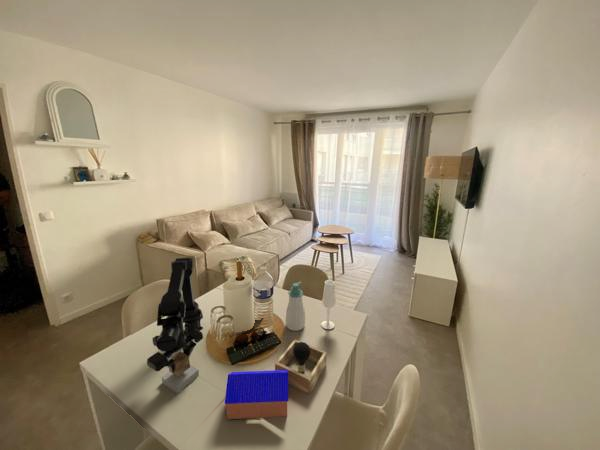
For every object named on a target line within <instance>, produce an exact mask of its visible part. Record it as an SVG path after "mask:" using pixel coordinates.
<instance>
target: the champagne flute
mask: <svg viewBox="0 0 600 450" xmlns="http://www.w3.org/2000/svg"><path fill="white" fill-rule="evenodd" d="M335 283H336V282H335V281H334V280H331V279H327V280H325V281H324V286H323V292H322V300H321V303H322V305H323V307H324V308H326V311H327V312H326V320H324V321H322V322H321V327H322V329H326V330H331V329H334V328H335V323H334V322H332V321H331V320H330V309H332V308H334V307H335V305H336V286H335Z"/></svg>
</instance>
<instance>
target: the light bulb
mask: <svg viewBox="0 0 600 450" xmlns="http://www.w3.org/2000/svg"><path fill="white" fill-rule="evenodd" d="M308 345H309V344H307V343H306V342H304V341H300V342H299V343H297V344H296V345H295V346H294V349H293V354H294V356H293V357H294V358H295V360H296V362H297V370H298V371H297V372H299V373H303V372H304V371H305V370H306V362H307V360H309V359H308V358H309V356H310V348H309V346H308Z"/></svg>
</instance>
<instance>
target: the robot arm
mask: <svg viewBox="0 0 600 450" xmlns="http://www.w3.org/2000/svg"><path fill="white" fill-rule="evenodd" d="M170 263H171V264H170V265H171V267H170V268H171V272H170V273H171V274H170V277H169V278H170V279H169V282H168V287H167V291H166V292H165V293H164V294H163V295H162V296H161V300H160V303H159V304H158V307H157V318H156V320H157V321H156V327H159V326H162V328H161V331H160V333H159V335H155V336H154V337H152V338H151V339H152V344H153V346H155V347H156V348H157V349H158V350H159V351H157V352H155V353H154V354H152V355H151V356H150V357H148V358H147V360H146V364H147V365H146V366H148V367H149V368H150V369H152V370H153V371H155V372H159V371H162V369H163V368H166V367H167V368H168V370H169V369H170V370H171V372H173V373H174V371H175V361H174V360H173V359H172V358H171V357H173V356H174V355H175V354H177V353H178V352H180V351H181V350H182V352H183V353H184V354H186V355H188V356H189V358H190V357H191V355H192V352H193V351H194V349H195V348H196V346H197V343H199V342H201V341H202V340H203V339H204V334H203V332H202V330H203V329H204V328H203V326H202V324H201V321H202V319H203V318H204V316H203V311H202V310H201V308H200V307H199V306H200V305H199V303H198V302H197V301H196V300H195V297H194V296H195V295H194V288H193V281H192V274H193V272H194V269H195V267H196V265H195V264H196V262H195V259H194V258H193V257H191V256H190V257H176V258H175V260H173V261H171V262H170ZM162 317H164V318H162ZM161 352H163V353H161Z"/></svg>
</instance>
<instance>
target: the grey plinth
mask: <svg viewBox="0 0 600 450" xmlns="http://www.w3.org/2000/svg"><path fill="white" fill-rule="evenodd" d="M199 376H200V373H199V369H198V368H196V367H195V366H193V365H192V364H190V368H188V369H187V370H186V371H185V372H183V373H182V374H181V375H180V376H176V375H175V374H173V373H171V372H170V371H169V370H168V371H167V372H166V373H165V374H163V375H162V376H161V381H162V382H161V383H162V384H164V386H166V387H167V388H169V389H170V390H172V391H173V392H174V393H176V395H177V394H178V395H179V393H180V392H182V390H184V389H185V388H186V387H187V386H188V385H190V383H192V382H193V381H194V380H195V379H197V378H198V377H199Z"/></svg>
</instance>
